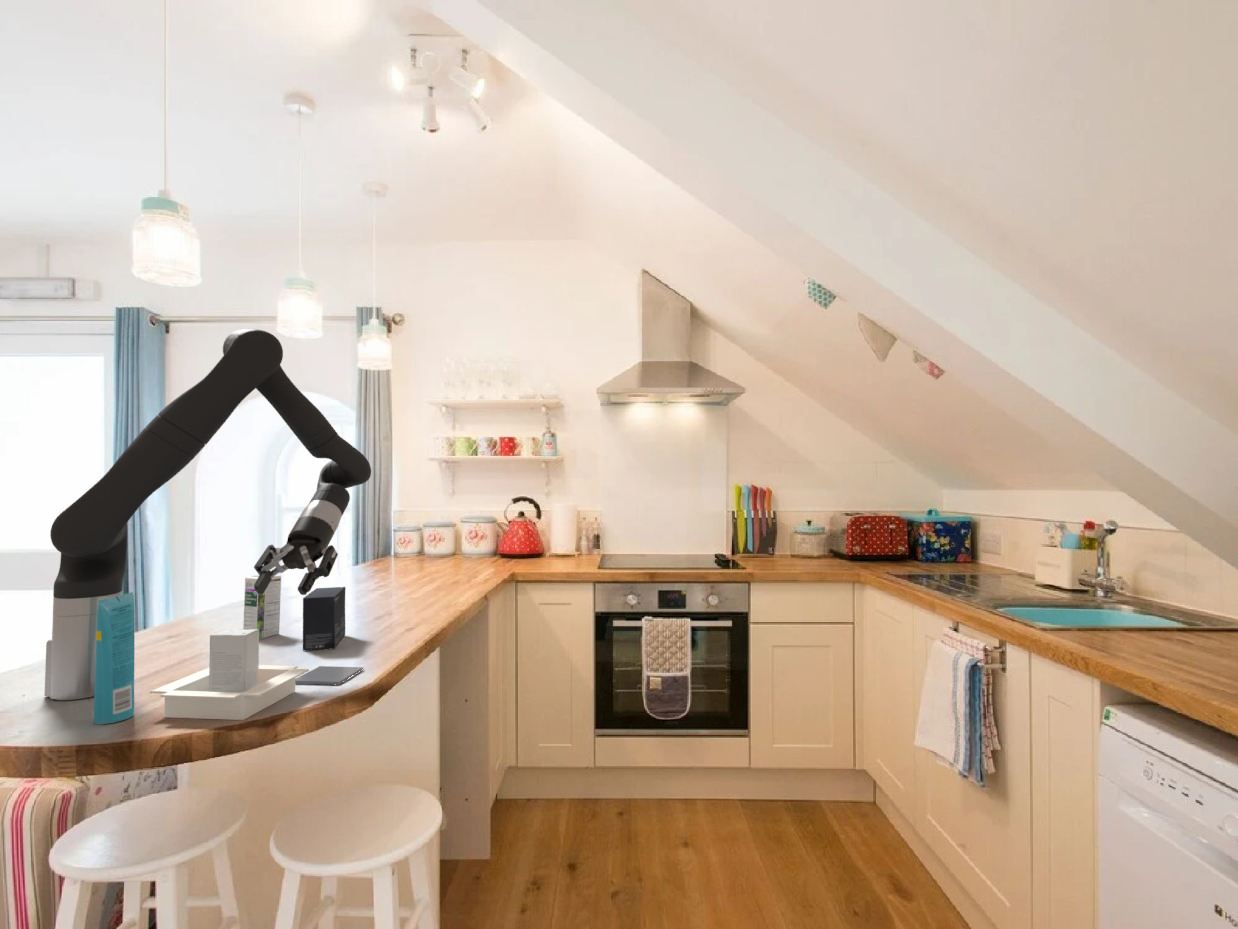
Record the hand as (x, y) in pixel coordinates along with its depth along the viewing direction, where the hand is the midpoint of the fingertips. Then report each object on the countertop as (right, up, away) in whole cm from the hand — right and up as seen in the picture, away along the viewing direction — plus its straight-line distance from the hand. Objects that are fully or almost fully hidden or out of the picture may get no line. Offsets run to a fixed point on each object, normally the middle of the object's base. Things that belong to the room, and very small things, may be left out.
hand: (279, 592), depth 114 cm
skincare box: (-1, -16, -12) cm, 20 cm away
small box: (-5, -18, +27) cm, 33 cm away
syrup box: (-23, -18, +34) cm, 45 cm away
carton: (-1, -16, -12) cm, 20 cm away
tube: (-16, -16, -19) cm, 29 cm away
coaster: (+8, -17, +2) cm, 19 cm away
